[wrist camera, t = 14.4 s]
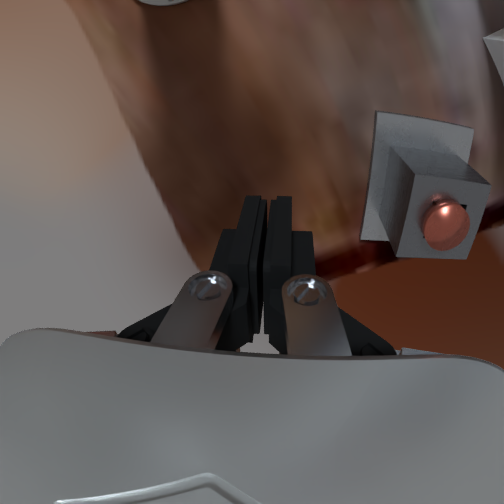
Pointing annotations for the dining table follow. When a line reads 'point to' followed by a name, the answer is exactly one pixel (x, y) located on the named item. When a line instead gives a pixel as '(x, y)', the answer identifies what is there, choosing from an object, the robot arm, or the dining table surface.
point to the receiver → (419, 182)
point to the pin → (445, 224)
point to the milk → (496, 50)
